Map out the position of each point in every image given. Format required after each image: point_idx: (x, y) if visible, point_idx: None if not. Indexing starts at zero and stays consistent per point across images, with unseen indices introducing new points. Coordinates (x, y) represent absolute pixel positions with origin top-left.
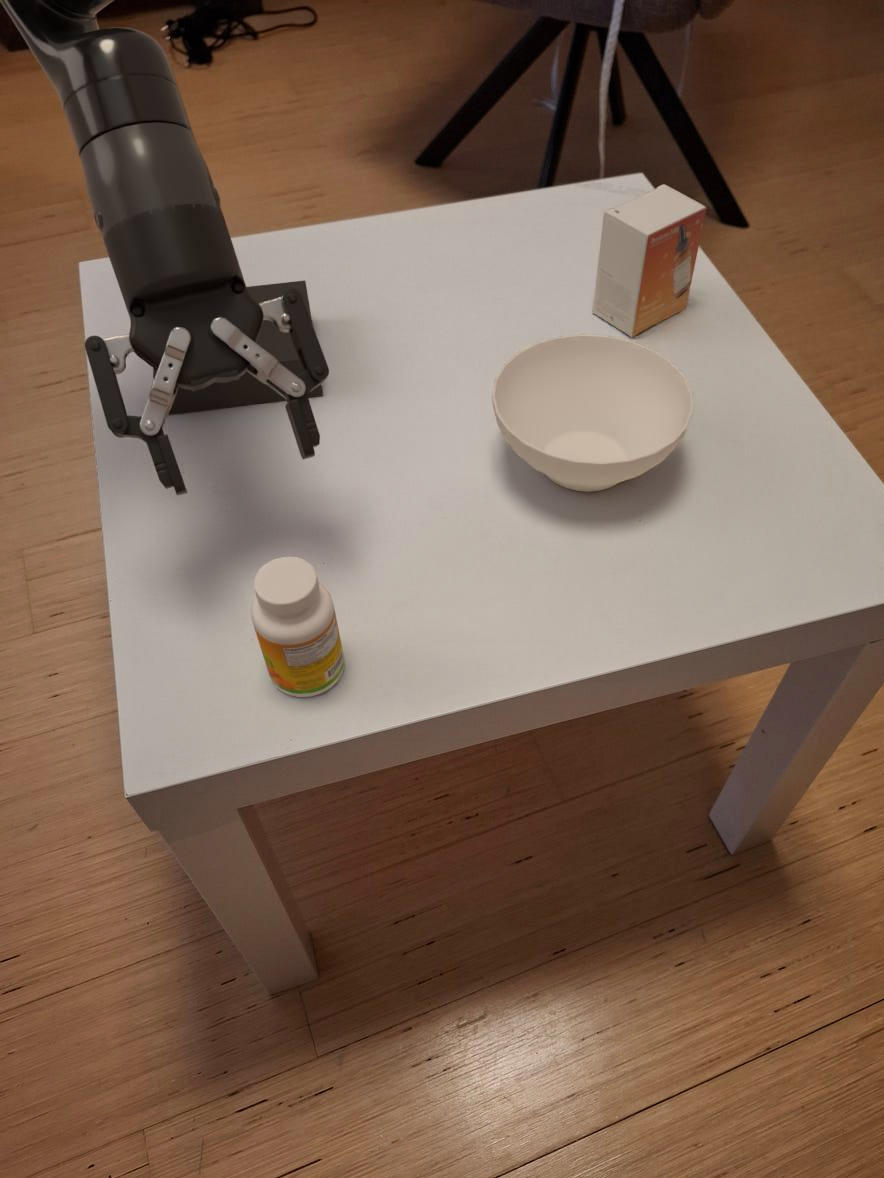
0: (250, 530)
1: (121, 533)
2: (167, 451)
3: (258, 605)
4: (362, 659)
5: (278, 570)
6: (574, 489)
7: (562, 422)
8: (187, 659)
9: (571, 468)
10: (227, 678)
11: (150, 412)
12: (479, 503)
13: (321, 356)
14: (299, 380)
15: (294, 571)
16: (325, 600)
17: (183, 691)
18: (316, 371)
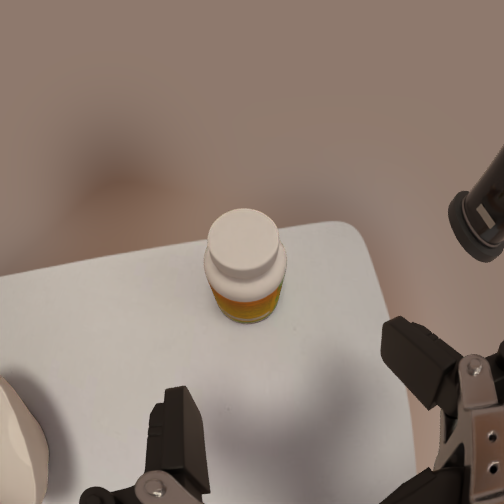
0: (300, 455)
1: (408, 443)
2: (431, 348)
3: (278, 253)
4: (202, 297)
5: (250, 248)
6: (32, 415)
7: (31, 473)
8: (344, 313)
9: (1, 379)
10: (311, 292)
11: (484, 383)
12: (90, 437)
13: None
14: (143, 500)
15: (231, 246)
16: (208, 252)
17: (342, 284)
18: (100, 502)
